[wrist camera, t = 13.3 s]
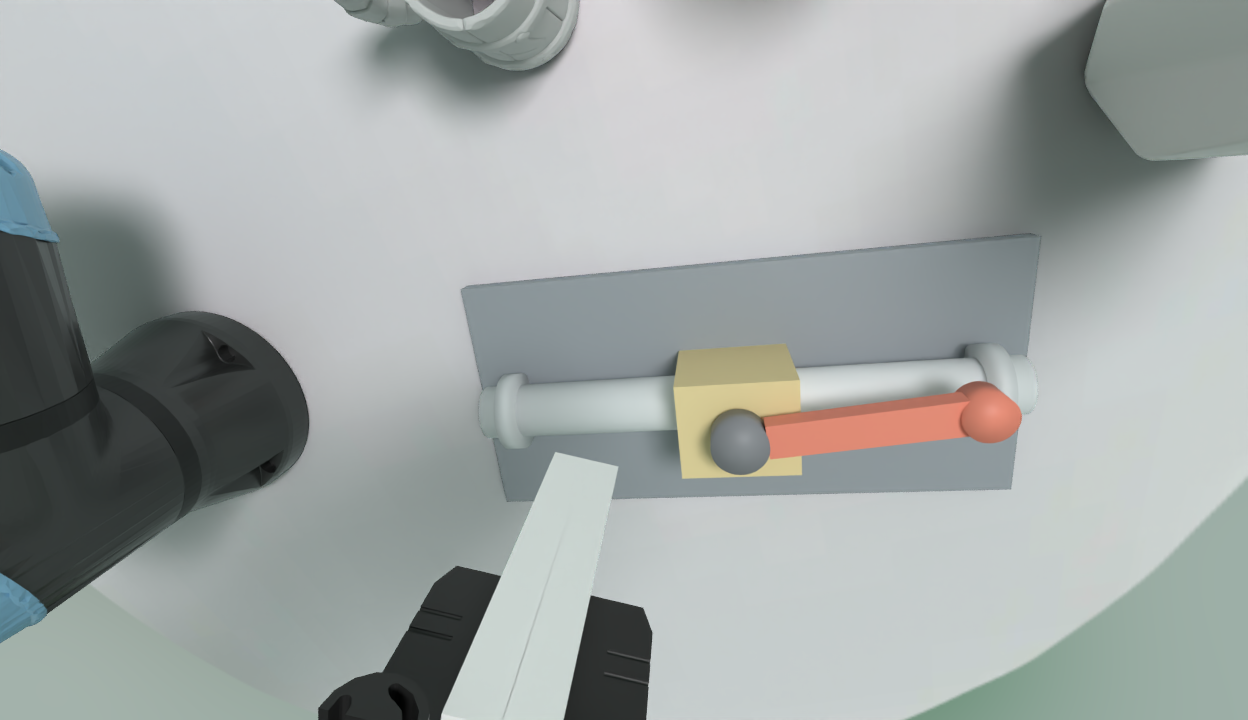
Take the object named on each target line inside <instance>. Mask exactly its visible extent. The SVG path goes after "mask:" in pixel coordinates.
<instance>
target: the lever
mask: <svg viewBox="0 0 1248 720" xmlns="http://www.w3.org/2000/svg"><path fill="white" fill-rule="evenodd" d="M763 418H764V421H763V420H762V419H761V418H760V417H759V416H758V415H757V414H755V413H754V412H752V411H749V410H745V409H732V410H729V411H726V412H724V413H722V414H721V415H719V416H718V417H717V418H716V419H715V421H714V422H713V424H712V427H711V433H710V450H711V455H712V458H713V460H714V462H715V463H716V464H717V466H718V467H719V468H721V469H722V470H724V471H725V472H728V473H730V474H734V475H747V474H751V473H754V472H756V471H758V470H759V469H760V468H762V467H763V466H764V465H765V463H766V462H767V460H768V458H769V456H770V459H779V458H788V457H797V456H805V455H814V454H823V453H831V452H840V451H849V450H858V449H866V448H875V447H884V446H892V445H901V444H910V443H918V442H927V441H936V440H945V439H953V438H962V437H971V438H973V439H974V440H976V441H978V442H982V443H997V442H1001V441H1003V440H1006V439H1007V438H1009V437H1011V436H1012V435H1013V434H1014V433H1015V432H1016V431H1017V429H1018V428H1019V426H1020V424H1021V419H1022V414H1021V410H1020V408H1019V406H1018V405H1017V404H1016V403H1015V402H1014V401H1013V400H1011V399H1010V398H1009V397H1008V396H1007V395H1005V394H1004V393H1003V392H1002V391H1001V390H999V389H998V388H997V387H996V386H994V385H993V384H991V383H988V382H984V381H974V382H970V383H967V384H965V385H963V386H961V387H960V388H959V389H957V390H956V391H955V392H954V393H948V394H940V395H932V396H925V397H917V398H909V399H901V400H894V401H886V402H878V403H871V404H863V405H855V406H847V407H840V408H832V409H824V410H817V411H809V412H801V413H793V414H786V415H778V416H770V417H763Z"/></svg>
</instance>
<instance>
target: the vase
mask: <svg viewBox="0 0 1248 720" xmlns="http://www.w3.org/2000/svg"><path fill="white" fill-rule="evenodd" d="M1084 76H1085V84H1086V87H1087V89H1088V92H1089V93H1090V95H1091V96H1092V97H1093V99H1094V100H1095V101H1096V103H1097V104H1098V105H1099V107H1100V108H1101V109H1102V111H1103V112H1104V113H1105V114H1106V116H1107V117H1108V118H1109V120H1110V121H1111V122H1112V124H1113V125H1114V126H1115V127H1116V129H1117V130H1118V131H1119V133H1120V134H1121V135H1122V136H1123V138H1124V139H1125V140H1126V141H1127V143H1128V144H1129V145H1130V147H1131V148H1132V149H1133V150H1134V152H1135V153H1136V154H1137V155H1138V156H1139V157H1141V158H1143V159H1146V160H1151V161H1161V160H1183V159H1197V158H1211V157H1224V156H1237V155H1248V0H1106V2H1105V5H1104V7H1103V10H1102V14H1101V17H1100V20H1099V24H1098V27H1097V30H1096V33H1095V37H1094V40H1093V44H1092V47H1091V50H1090V54H1089V57H1088V61H1087V64H1086V68H1085V72H1084Z"/></svg>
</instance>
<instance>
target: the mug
mask: <svg viewBox="0 0 1248 720" xmlns="http://www.w3.org/2000/svg"><path fill="white" fill-rule="evenodd" d="M334 1H335V2H337V3H338V4H339V5H341V6H342V7H343V8H344V9H345V11H346V12H347V13H348V14H349V15H351V16H353V17H355V18H358V19H361V20H364V21H366V22H367V21H368V22H371V23H376V24H380V25H383V26H387V27H394V28H395V27H399V26H401V25H416V24H419V23H420V22H421V21H422V20H425V21H426V22H428V23H429V24H431V25H432V26H433V28H434V29H435V30H436V31H438V32H439V33H440V34H441V35H442V36H443V37H444V38H446V39H448V41H449V42H450V43H451V44H453V45H454V46H456V47H458V48H460V49H466V50H471V51H472V52H473V53H474V54H475V55H477V56H478V57H480V59H481V60H482V61H483V62H485V63H486V64H488V65H494V66H496V67H499V68H502V69H505V70H514V71H521V70H528V69H532V68H535V67H538V66H540V65H542V64H544V63H546V62H548V61H549V60H551V59H552V58H553V57H554V56H556V55H557V54H558V53H559V52H560V51H561V50H562V49H563V48H564V46H565V45H566V44H567V42H568V40H569V39H570V37H571V33H572V31H573V29H574V27H575V25H576V22H577V17H578V11H579V2H580V0H495V1H494V2H493V3H492V4H491V5H490V6H488V7H487V8H486V9H485V10H483V11H482V12H480V13H478V14H476V15H474V11H473V4H472V0H334Z"/></svg>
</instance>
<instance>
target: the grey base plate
mask: <svg viewBox="0 0 1248 720" xmlns="http://www.w3.org/2000/svg"><path fill="white" fill-rule="evenodd" d="M1040 241H1041V236H1038V235H1035V234H1031V233H1029V234H1018V235H1007V236H997V237H986V238H975V239H964V240H954V241H943V242H932V243H921V244H911V245H900V246H889V247H878V248H868V249H857V250H846V251H835V252H825V253H814V254H803V255H792V256H782V257H771V258H760V259H749V260H739V261H728V262H717V263H706V264H696V265H685V266H674V267H664V268H653V269H642V270H631V271H621V272H610V273H599V274H588V275H578V276H567V277H556V278H545V279H535V280H524V281H513V282H502V283H492V284H481V285H470V286H466V287H465V288H463V289H461V293H462V297H463V302H464V307H465V311H466V316H467V320H468V325H469V330H470V334H471V339H472V343H473V348H474V353H475V357H476V362H477V366H478V371H479V376H480V380H481V385H482V389H483V392H482V394H481V396H480V401H479V421H480V426H481V429H482V431H483V433H484V435H485V436H486V437H487V438H493V440H494V445H495V449H496V454H497V459H498V463H499V468H500V472H501V477H502V482H503V486H504V491H505V495H506V500H507V502H509V501H534V500H535V498H536V495H537V493H538V491H539V488H540V486H541V484H542V481H543V479H544V477H545V475H546V472H547V470H548V468H549V465H550V463H551V461H552V458H553V456H554V454H555V452H557V453H562V454H566V455H571V456H575V457H579V458H584V459H588V460H592V461H597V462H601V463H605V464H610V465H614V466H618V471H617V476H616V480H615V485H614V490H613V494H612V499H632V498H673V497H715V496H756V495H797V494H838V493H879V492H920V491H961V490H1002V489H1011V486H1012V477H1013V469H1014V461H1015V452H1016V444H1017V435H1018V429H1017V431H1016V432H1015V433H1014V434H1013V435H1012V436H1011V437H1009V438H1007V439H1006V440H1003V441H1001V442H997V443H982V442H978V441H976V440H974V439H973V438H971V437H962V438H953V439H945V440H936V441H927V442H918V443H910V444H901V445H892V446H884V447H875V448H866V449H858V450H849V451H840V452H831V453H823V454H814V455H805V456H797V457H788V458H779V459H770V456H769V458H768V460H767V462H766V463H765V465H764V466H763V467H762V468H760V469H759V470H758V471H756V472H754V473H751V474H747V475H734V474H730V473H728V472H725V471H724V470H722V469H721V468H719V467H718V466H717V464H716V463H715V462H714V460H713V458H712V455H711V450H710V433H711V427H712V424H713V422H714V421H715V419H716V418H717V417H718V416H719V415H721V414H722V413H724V412H726V411H729V410H732V409H745V410H749V411H752V412H754V413H755V414H757V415H758V416H759V417H760V418H761V419H762V420H763V421H764V418H763V417H770V416H778V415H786V414H793V413H801V412H809V411H817V410H824V409H832V408H840V407H847V406H855V405H863V404H871V403H878V402H886V401H894V400H901V399H909V398H917V397H925V396H932V395H940V394H948V393H954V392H955V391H956V390H957V389H959V388H960V387H961V386H963V385H965V384H967V383H970V382H974V381H984V382H988V383H991V384H993V385H994V386H996V387H997V388H998V389H999V390H1001V391H1002V392H1003V393H1004V394H1005V395H1007V396H1008V397H1009V398H1010V399H1011V400H1013V401H1014V402H1015V403H1016V404H1017V405H1018V406H1019V408H1020V410H1021V414H1029V413H1031V412H1032V411H1033V409H1034V408H1035V405H1036V403H1037V398H1038V381H1037V376H1036V372H1035V370H1034V367H1033V365H1032V363H1031V362H1030V360H1029V359H1028V358H1027V351H1028V342H1029V334H1030V325H1031V317H1032V309H1033V300H1034V292H1035V283H1036V275H1037V266H1038V258H1039V250H1040Z"/></svg>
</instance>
